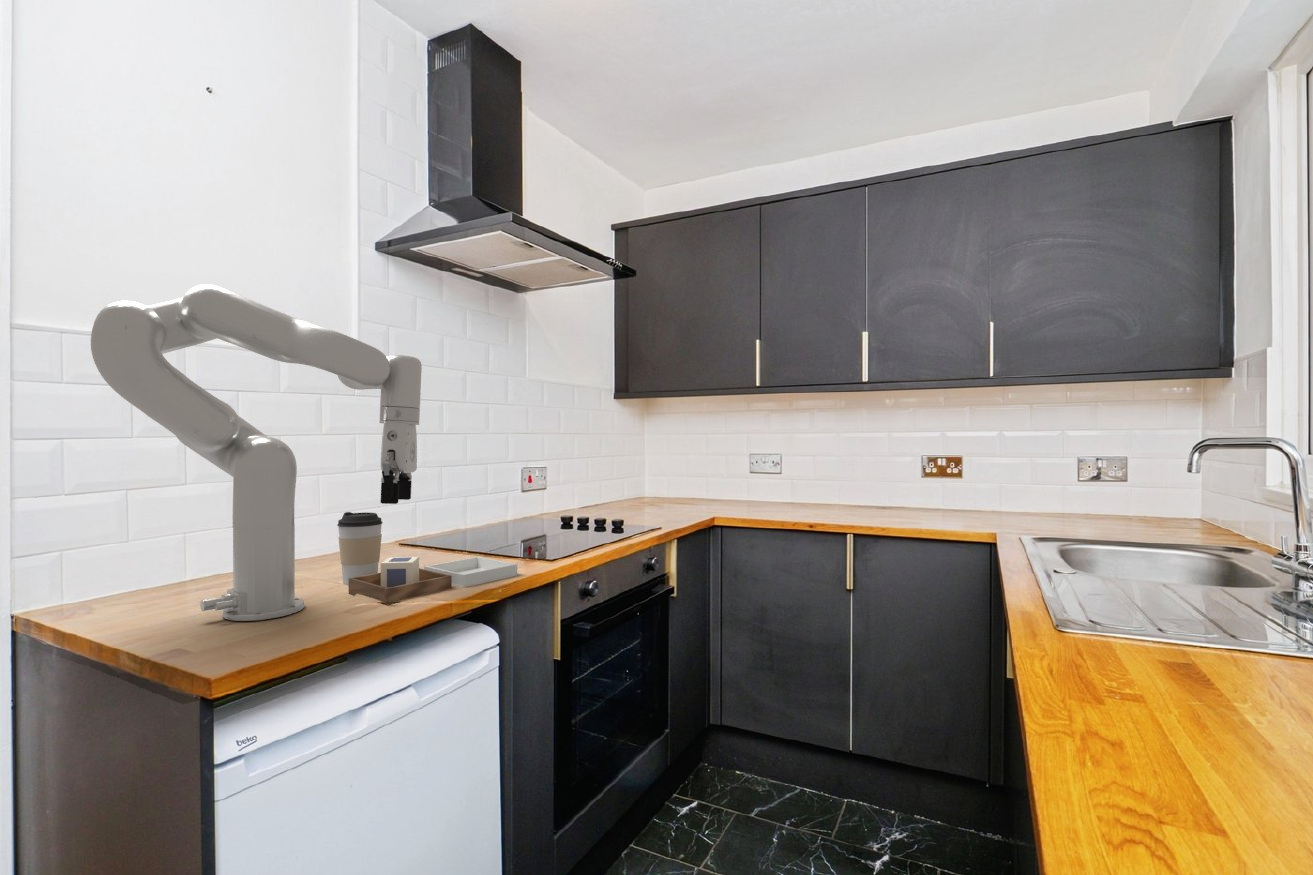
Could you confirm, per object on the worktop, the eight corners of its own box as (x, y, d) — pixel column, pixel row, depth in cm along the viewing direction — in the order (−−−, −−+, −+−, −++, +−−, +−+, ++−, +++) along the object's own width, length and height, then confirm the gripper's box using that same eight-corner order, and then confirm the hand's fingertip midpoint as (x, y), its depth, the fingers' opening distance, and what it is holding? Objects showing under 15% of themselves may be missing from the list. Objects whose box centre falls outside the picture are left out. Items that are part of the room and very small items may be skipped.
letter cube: (412, 592, 128) (412, 562, 128) (380, 593, 127) (380, 562, 127) (419, 585, 134) (419, 556, 134) (389, 586, 133) (389, 556, 133)
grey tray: (463, 590, 133) (463, 575, 133) (424, 580, 141) (424, 566, 141) (517, 577, 144) (517, 564, 144) (477, 569, 152) (477, 556, 152)
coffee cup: (390, 576, 145) (390, 510, 144) (368, 586, 136) (368, 515, 135) (352, 575, 145) (352, 509, 145) (328, 585, 136) (328, 514, 136)
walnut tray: (386, 605, 121) (386, 588, 121) (348, 593, 129) (348, 578, 129) (451, 590, 132) (451, 575, 132) (412, 580, 141) (412, 566, 141)
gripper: (408, 415, 122) (404, 505, 122) (428, 419, 139) (425, 498, 139) (366, 414, 121) (362, 504, 121) (392, 418, 138) (388, 497, 138)
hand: (396, 501), depth 130 cm, fingers open, 9 cm apart
